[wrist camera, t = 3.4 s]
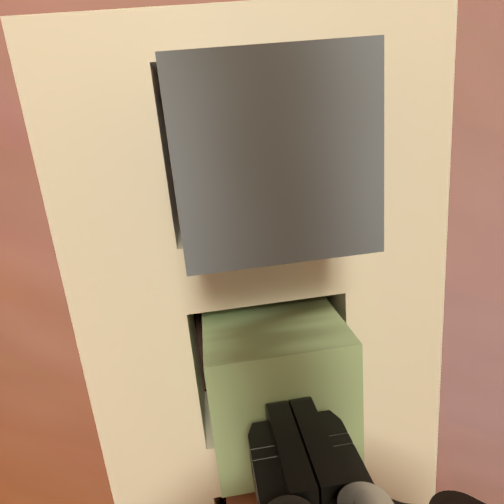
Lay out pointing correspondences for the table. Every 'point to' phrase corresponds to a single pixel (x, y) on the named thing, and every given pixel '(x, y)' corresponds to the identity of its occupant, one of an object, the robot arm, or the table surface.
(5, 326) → the table surface
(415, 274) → the board
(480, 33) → the table surface
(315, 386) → the sage block
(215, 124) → the slate block
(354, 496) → the robot arm
